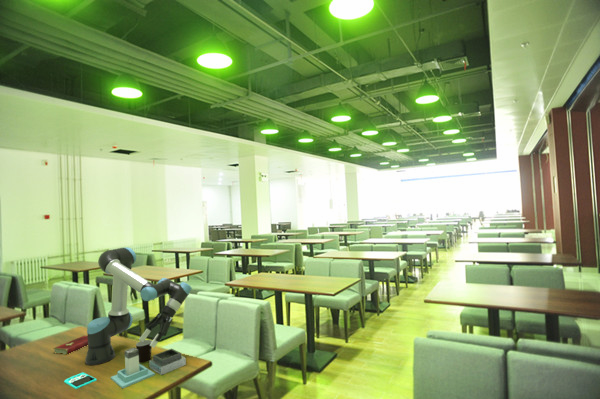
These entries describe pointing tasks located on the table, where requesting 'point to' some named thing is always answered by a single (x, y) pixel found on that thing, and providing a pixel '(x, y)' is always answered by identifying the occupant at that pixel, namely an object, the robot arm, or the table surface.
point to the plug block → (131, 361)
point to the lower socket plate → (132, 376)
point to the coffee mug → (144, 350)
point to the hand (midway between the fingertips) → (146, 343)
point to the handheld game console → (79, 380)
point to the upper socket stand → (167, 361)
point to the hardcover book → (72, 345)
